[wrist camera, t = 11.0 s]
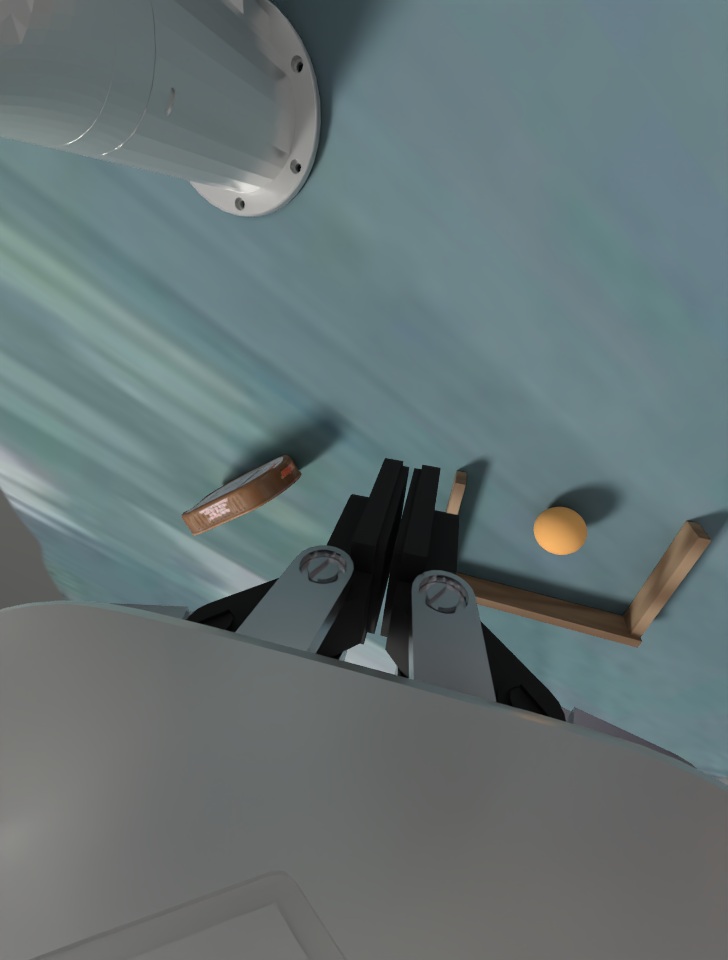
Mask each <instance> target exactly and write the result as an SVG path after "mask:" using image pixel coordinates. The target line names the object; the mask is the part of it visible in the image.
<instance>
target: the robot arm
mask: <svg viewBox="0 0 728 960" xmlns="http://www.w3.org/2000/svg"><path fill="white" fill-rule="evenodd" d="M301 65H303V68H302V70H301V72H300V73H299V67H300V66H301ZM320 127H321V108H320V96H319V90H318V84H317V78H316V75H315V72H314V69H313V66H312V62H311V59H310V56H309V54H308V52H307V50H306V48H305V46H304V44H303V42H302V40H301V38H300V36H299V35H298V33H297V32H296V30H295V29H294V28H293V26H292V25H291V23H290V22H289V21H288V19H287V18H286V17H285V16H284V15H283V14H282V13H281V12H280V11H279V10H278V8H277V7H276V6H275V5H274V4H272V3H271V2H270V1H268V0H0V138H7V139H12V140H17V141H21V142H26V143H31V144H36V145H40V146H45V147H49V148H54V149H58V150H62V151H67V152H71V153H75V154H79V155H84V156H88V157H92V158H96V159H100V160H104V161H109V162H113V163H117V164H121V165H125V166H130V167H134V168H138V169H142V170H146V171H151V172H155V173H159V174H163V175H167V176H172V177H176V178H180V179H184V180H188V181H189V182H190V183H191V184H192V186H193V187H194V188H195V189H196V190H197V191H198V193H199V194H200V195H201V196H203V197H204V198H205V199H206V200H207V201H209V202H210V203H211V204H212V205H214V206H216V207H218V208H219V209H221V210H223V211H225V212H228V213H231V214H235V215H238V216H245V217H257V216H264V215H267V214H270V213H273V212H276V211H277V210H279V209H280V208H282V207H284V206H285V205H287V204H288V203H289V202H290V201H291V200H292V199H293V198H294V197H295V196H296V195H297V194H298V192H299V191H300V189H301V188H302V186H303V185H304V183H305V181H306V180H307V178H308V175H309V173H310V171H311V168H312V166H313V164H314V160H315V156H316V153H317V149H318V145H319V136H320ZM300 164H301V170H300V172H298V169H297V168H298V166H299V165H300ZM243 203H245V207H243ZM408 472H409V467H405V466H403V461H399V460H393V459H387V458H385V460H384V462H383V465H382V467H381V469H380V472H379V474H378V477H377V479H376V482H375V484H374V487H373V489H372V492H371V494H370V497H364V496H359V495H354V494H352V495H351V496H350V498H349V500H348V502H347V504H346V506H345V508H344V510H343V512H342V514H341V516H340V518H339V521H338V523H337V525H336V527H335V529H334V531H333V533H332V535H331V537H330V539H329V541H328V543H327V545H324V546H314V547H310V548H308V549H306V550H304V551H302V552H301V553H300V554H299V555H298V556H297V557H296V558H295V559H294V560H293V561H292V563H291V564H290V565H289V566H288V568H287V569H286V570H285V571H284V573H283V574H282V575H281V576H280V578H278V579H275V580H272V581H269V582H266V583H264V584H261V585H258V586H255V587H253V588H250V589H247V590H244V591H242V592H239V593H236V594H233V595H231V596H228V597H225V598H222V599H220V600H217V601H214V602H211V603H209V604H206V605H204V606H202V607H200V608H198V609H197V610H196V611H194V612H193V611H189V609H188V607H187V606H162V605H138V604H113V603H110V604H108V603H99V602H91V601H49V602H37V603H29V604H23V605H18V606H13V607H9V608H5V609H2V610H0V960H728V785H726V784H724V783H723V782H721V781H719V780H718V779H716V778H714V777H712V776H710V775H708V774H706V773H704V772H702V771H700V770H698V769H696V768H695V767H694V766H693V765H692V764H691V763H689V762H687V761H686V760H684V759H683V758H681V757H679V756H678V755H676V754H674V753H672V752H670V751H667V750H665V749H663V748H661V747H659V746H657V745H655V744H652V743H650V742H648V741H646V740H644V739H642V738H640V737H637V736H635V735H633V734H631V733H629V732H627V731H625V730H623V729H620V728H618V727H616V726H614V725H612V724H610V723H608V722H605V721H603V720H601V719H599V718H597V717H595V716H593V715H590V714H588V713H586V712H584V711H582V710H580V709H578V708H575V707H574V708H573V710H572V711H569V710H567V709H565V708H563V707H561V706H560V704H559V702H558V701H557V699H556V698H555V697H554V696H553V694H552V693H551V692H550V691H549V690H548V689H547V688H546V687H545V686H544V685H543V684H542V683H541V682H540V681H539V680H538V679H537V678H536V677H535V676H534V675H533V674H532V673H531V672H530V671H529V670H528V669H527V668H526V667H525V666H524V665H523V664H522V662H521V661H520V660H519V659H518V658H517V657H516V656H515V655H514V654H513V653H512V652H511V651H510V650H509V649H508V648H507V647H506V646H505V645H504V644H503V643H502V642H501V641H500V640H499V639H498V638H497V637H496V636H495V635H494V634H493V633H492V632H491V631H490V630H489V629H488V628H487V627H486V626H485V625H484V624H483V623H482V622H481V621H480V617H479V612H478V607H477V602H476V597H475V594H474V592H473V589H472V588H471V587H470V586H469V584H468V583H467V582H466V581H465V580H463V579H462V578H461V577H459V576H457V575H456V567H457V548H458V529H459V515H456V514H451V513H446V512H441V511H435V503H436V496H437V489H438V482H439V475H440V468H438V467H432V466H426V465H422V469H416V468H415V469H414V472H413V476H412V480H411V484H410V488H409V492H408V496H407V499H406V503H405V507H404V511H403V515H402V510H403V504H404V498H405V491H406V485H407V478H408ZM401 517H402V519H401ZM389 574H390V576H389ZM388 578H389V582H388ZM387 582H388V589H387V595H386V602H385V609H384V615H383V622H382V628H381V636H385V637H387V643H386V649H385V650H386V651H387V652H388V654H389V655H390V657H391V658H392V659H393V661H394V662H395V664H396V665H397V666H396V671H395V675H393V674H390V673H386V672H382V671H378V670H375V669H371V668H367V667H363V666H360V665H356V664H352V663H348V662H345V661H344V660H345V657H346V653H347V650H348V649H350V648H352V647H354V646H356V645H358V644H364V641H365V638H366V634H367V632H369V633H373V634H374V633H375V630H376V626H377V622H378V618H379V614H380V610H381V606H382V602H383V598H384V594H385V590H386V586H387Z"/></svg>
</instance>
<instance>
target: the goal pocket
mask: <svg viewBox="0 0 728 960" xmlns="http://www.w3.org/2000/svg"><path fill="white" fill-rule="evenodd" d="M466 478H467V473H466V472H461V471H457V472H456V476H455V479H454V483H453V487H452V491H451V494H450V498H449V502H448V506H447V509H446V513H451V514H456V515H457V514H458V511H459V507H460V504H461V500H462V497H463V493H464V490H465V486H466ZM711 541H712V540H711V539H710V538H709V536H708V535H707V534H706V532H705V531H704V530H703V529H702V527H701V526H700V525H699V524H698V523H694V522H689V521H686V522H685V524H684V525H683V527H682V528H681V530H680V531H679V533H678V534H677V536H676V537H675V539H674V540H673V542H672V543H671V545H670V546H669V548H668V549H667V551H666V552H665V554H664V555H663V557H662V558H661V560H660V561H659V563H658V564H657V566H656V567H655V569H654V570H653V572H652V573H651V575H650V576H649V578H648V579H647V581H646V582H645V584H644V585H643V587H642V588H641V590H640V591H639V593H638V594H637V596H636V597H635V599H634V600H633V602H632V603H631V605H630V606H629V608H628V609H627V611H626V612H625V614H624V615H623V616H621V615H617V614H613V613H609V612H606V611H602V610H598V609H594V608H590V607H587V606H583V605H579V604H575V603H571V602H567V601H564V600H560V599H556V598H552V597H548V596H545V595H541V594H537V593H533V592H529V591H525V590H522V589H518V588H514V587H510V586H506V585H503V584H499V583H495V582H491V581H487V580H483V579H480V578H476V577H472V576H468V575H464V574H461V573H457V572H456V575H457V576H459V577H461V578H462V579H463V580H465V581H466V582H467V583H468V584H469V586H470V587H471V588H472V589H473V592H474V594H475V597H476V602H477V604H479V605H483V606H487V607H490V608H494V609H498V610H501V611H505V612H509V613H512V614H516V615H520V616H523V617H527V618H531V619H534V620H538V621H542V622H545V623H549V624H553V625H556V626H560V627H564V628H567V629H571V630H575V631H578V632H582V633H586V634H589V635H593V636H597V637H600V638H604V639H608V640H611V641H615V642H619V643H622V644H626V645H630V646H633V647H637V648H638V646H639V645H640V644H641V642H642V640H641V638H640V637H641V636H642V635H643V633H644V632H645V631H646V629H647V628H648V626H649V625H650V624H651V622H652V621H653V620H654V618H655V617H656V616H657V614H658V613H659V611H660V610H661V609H662V607H663V606H664V605H665V603H666V602H667V601H668V599H669V598H670V596H671V595H672V594H673V592H674V591H675V590H676V588H677V587H678V586H679V584H680V583H681V581H682V580H683V579H684V577H685V576H686V575H687V573H688V572H689V571H690V569H691V568H692V566H693V565H694V564H695V562H696V561H697V560H698V558H699V557H700V556H701V554H702V553H703V551H704V550H705V549H706V547H707V546H708V545H709V543H710V542H711Z"/></svg>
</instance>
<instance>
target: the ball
mask: <svg viewBox="0 0 728 960" xmlns="http://www.w3.org/2000/svg"><path fill="white" fill-rule="evenodd" d="M534 534H535V538H536V540H537V541H538V543H539V544H540V545H541V546H542V547H543V548H544V549H545V550H547V551H549V552H551V553H554V554H558V555H565V554H570V553H573V552H575V551H577V550H578V549H579V548H580V547H581V546H582V545H583V544H584V542H585V540H586V537H587V527H586V524H585V522H584V520H583V518H582V517H581V516H580V515H579V514H578V513H577V512H575V511H573V510H572V509H569V508H566V507H553V508H549V509H547V510H545V511H544V512H542V513H541V514H540V515H539V516H538V518H537V519H536V522H535V525H534Z"/></svg>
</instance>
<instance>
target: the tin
mask: <svg viewBox="0 0 728 960" xmlns="http://www.w3.org/2000/svg"><path fill="white" fill-rule="evenodd" d="M300 476H301V472H300V471H299V470H298V468H297V467H296V465H295V464H294V462H293V461H292V459H291V458H290V457H289V456H288V455H283V456H280V457H278V458H276V459H274V460H272V461H270V462H268V463H266V464H264V465H262V466H260V467H258V468H255V469H253V470H251V471H249V472H247V473H246V474H244V475H242V476H240V477H238V478H236V479H234V480H232V481H231V482H229V483H227V484H225V485H224V486H222V487H220V488H218V489H217V490H215V491H214V492H212V493H210V494H209V495H207V496H206V497H205V498H204V499H202V501H201V502H200V503H198V504H197V505H196V506H194V507H193V508H192V509H190V510H188V511H186V512H184V513H183V514H182V519H183V520H184V522H185V523H186V525H187V526H188V527H189V529H190V530H191V531H192V534H193V535H198V534H201V533H203V532H206V531H208V530H210V529H212V528H215V527H217V526H219V525H221V524H224V523H226V522H228V521H230V520H233V519H235V518H237V517H239V516H242V515H244V514H246V513H249V512H251V511H253V510H255V509H257V508H258V507H260V506H262V505H264V504H265V503H267V502H269V501H270V500H272V499H273V498H275V497H276V496H278V495H279V494H281V493H282V492H284V491H285V490H286V489H288V488H289V487H290V486H291V485H292V484H294V483H295V482H296V481H297V480H298V479H299V478H300Z"/></svg>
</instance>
